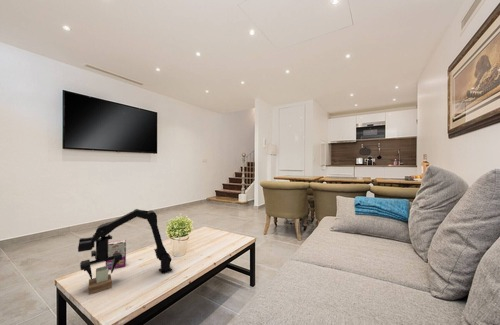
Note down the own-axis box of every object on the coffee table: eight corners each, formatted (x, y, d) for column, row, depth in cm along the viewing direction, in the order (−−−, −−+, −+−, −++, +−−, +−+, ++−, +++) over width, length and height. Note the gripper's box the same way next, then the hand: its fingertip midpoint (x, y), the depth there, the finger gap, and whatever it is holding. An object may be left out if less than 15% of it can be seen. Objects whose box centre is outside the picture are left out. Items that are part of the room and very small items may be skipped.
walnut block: (111, 288, 113) (111, 281, 113) (88, 295, 107) (88, 288, 107) (110, 280, 121) (110, 273, 121) (88, 286, 115) (88, 279, 115)
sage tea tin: (108, 279, 115) (108, 269, 115) (96, 283, 112) (97, 272, 112) (106, 276, 119) (106, 265, 119) (95, 279, 115) (96, 268, 115)
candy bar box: (126, 263, 142) (126, 239, 142) (125, 266, 137) (125, 241, 137) (106, 267, 136) (106, 242, 137) (105, 270, 132) (105, 244, 132)
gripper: (118, 239, 128) (118, 265, 128) (79, 247, 115) (79, 276, 115) (122, 245, 119) (122, 272, 119) (81, 254, 107) (80, 284, 107)
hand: (101, 275), depth 115 cm, fingers open, 9 cm apart
